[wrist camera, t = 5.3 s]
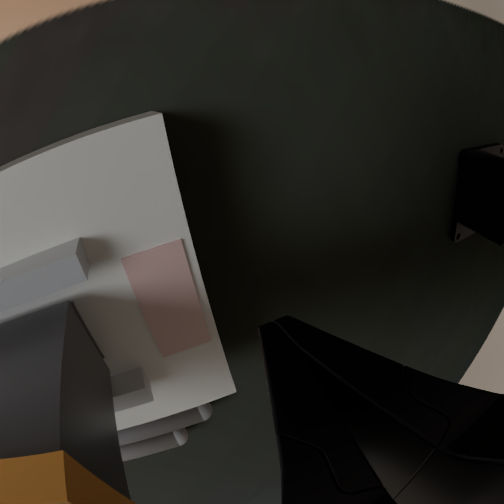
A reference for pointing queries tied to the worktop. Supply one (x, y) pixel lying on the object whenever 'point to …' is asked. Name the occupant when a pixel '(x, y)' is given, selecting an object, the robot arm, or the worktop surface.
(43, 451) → the breaker lever
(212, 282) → the worktop surface
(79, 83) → the worktop surface
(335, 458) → the robot arm
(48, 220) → the breaker panel
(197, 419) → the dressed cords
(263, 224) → the worktop surface
